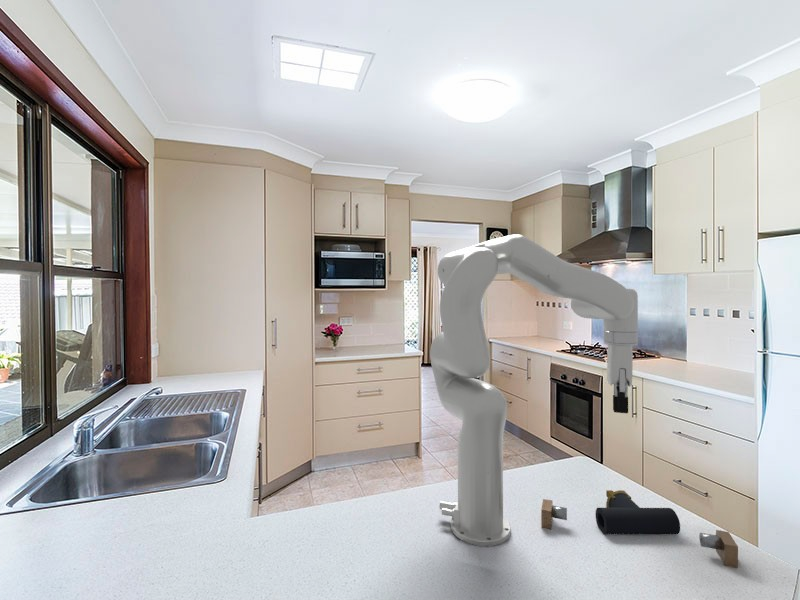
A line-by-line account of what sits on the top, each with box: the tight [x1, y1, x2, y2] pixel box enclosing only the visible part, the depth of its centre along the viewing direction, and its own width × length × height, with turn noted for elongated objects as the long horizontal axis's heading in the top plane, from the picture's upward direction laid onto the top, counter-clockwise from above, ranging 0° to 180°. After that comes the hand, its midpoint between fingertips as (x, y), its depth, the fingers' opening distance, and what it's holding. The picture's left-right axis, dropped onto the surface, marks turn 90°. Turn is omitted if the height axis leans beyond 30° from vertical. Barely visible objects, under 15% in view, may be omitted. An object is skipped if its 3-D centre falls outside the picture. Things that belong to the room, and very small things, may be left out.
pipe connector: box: [595, 489, 681, 536], centre depth 90 cm, size 12×5×15 cm
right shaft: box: [698, 529, 739, 569], centre depth 78 cm, size 5×5×4 cm
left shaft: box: [540, 498, 568, 531], centre depth 90 cm, size 5×5×4 cm
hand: (620, 411), depth 102 cm, fingers closed
